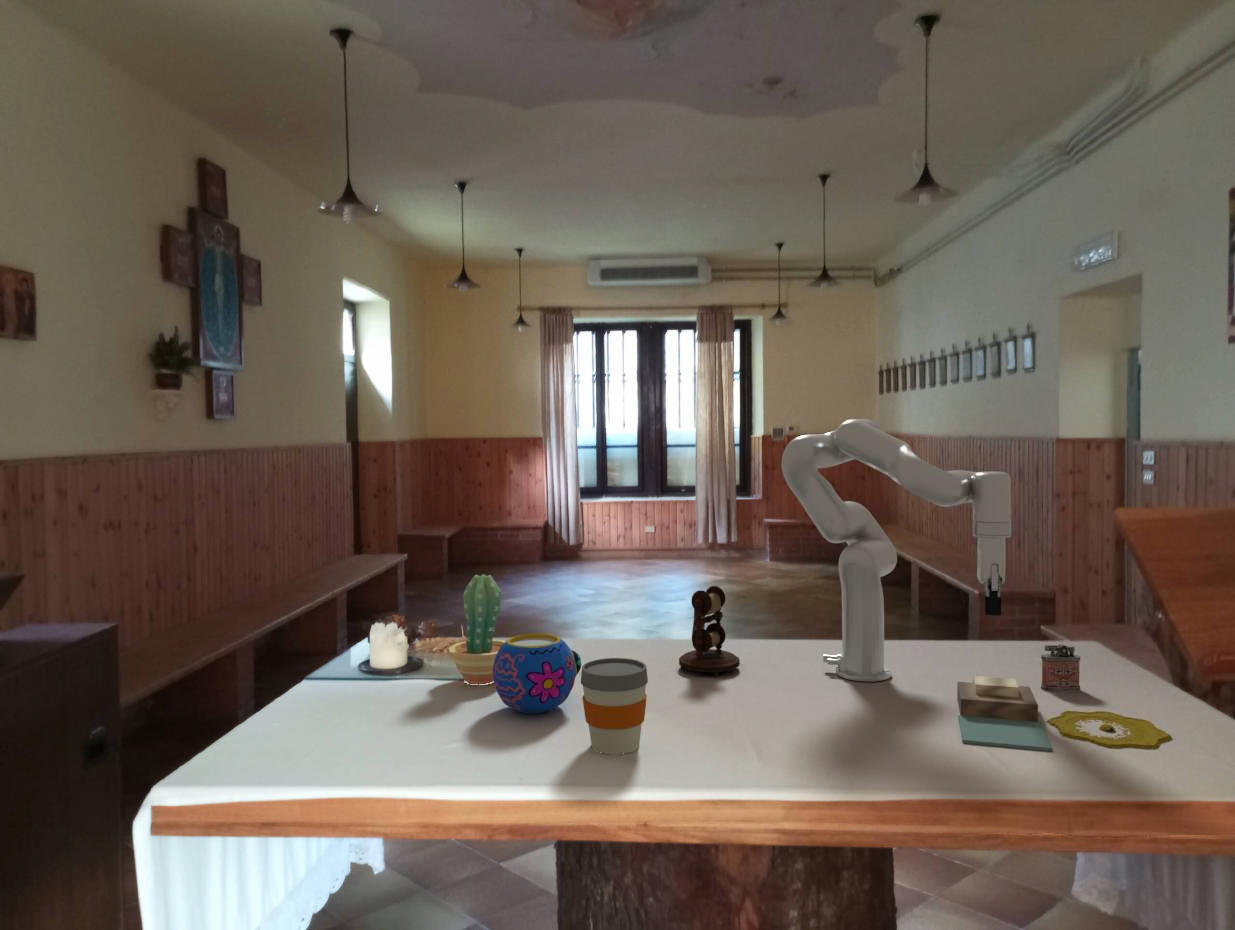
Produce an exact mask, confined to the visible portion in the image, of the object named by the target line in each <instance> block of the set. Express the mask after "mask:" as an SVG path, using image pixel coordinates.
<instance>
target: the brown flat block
mask: <svg viewBox="0 0 1235 930" xmlns="http://www.w3.org/2000/svg"><path fill="white" fill-rule="evenodd" d="M956 685H957V690H956V693H957V694H956V695H957V699H956V701H957V705H958V710H959V715H961V716H973V717H985V718H996V719H1008V720H1020V721H1032V722H1039V704H1038V702H1037V700H1036V698H1035V695H1034V694H1033V691H1032V689H1031V687H1030V686H1023V685H1018V687H1019V697H1008V696H995V695H982V694H975V690H974V686H973V682H968V681H967V682H966V681H957V683H956Z"/></svg>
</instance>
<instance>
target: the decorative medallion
mask: <svg viewBox="0 0 1235 930" xmlns="http://www.w3.org/2000/svg"><path fill="white" fill-rule="evenodd" d="M1092 720H1093V721H1094V722H1095V723H1099V722H1100V721H1101V722H1102V724H1100V726H1099V727H1098V730H1099V731H1101V732H1103V733H1105V734H1104V735H1102V734H1099V735H1097V734H1096V733H1098V731H1095V732H1096V733H1095V734H1096V735H1094V734H1091V733H1090V731H1089V730H1091V728H1089V729H1088V731H1087V730H1084V725H1083V726H1082V725H1081V724H1082V722H1083V723H1084V724H1086V723H1091V721H1092ZM1046 723H1047V724H1049V725H1050V726H1052V727H1054V728H1055V729H1056V730H1057V731H1058V733H1059V735H1061V737H1064V738H1067V739H1072V740H1079V741H1083V742H1088V743H1090V744H1094V745H1096V746H1098V747H1104V748H1107V749H1126V748H1128V749H1129V748H1131V749H1141V750H1156V749H1157V748H1159V747H1160V745H1161V743H1166V742H1170V741H1171V740H1173V737H1172V736H1171V734H1169V733H1168V732H1166V731H1165V730H1163V729H1160V728H1159V727H1156V726H1155V724H1154V723H1153V722H1151V721H1149V720H1147V719H1141V718H1136V717H1135V718H1134V717H1131V716H1125V715H1121V714H1118V713H1115V712H1110V711H1105V710H1104V711H1103V710H1100V711H1099V710H1097V711H1095V710H1094V711H1079V710H1065V711H1062V712H1060V715H1057V716H1054V717H1053V716H1052V717H1050V718H1048V719H1047V720H1046ZM1116 728H1117V729H1118V730H1121V732H1122V733H1120V734H1119V733H1117V734H1116V735H1114V736H1108V729H1110V732H1111V733H1116V732H1117V731H1116ZM1111 730H1112V731H1111ZM1091 731H1092V730H1091ZM1092 732H1093V731H1092ZM1128 732H1129V733H1128ZM1106 733H1107V734H1106Z"/></svg>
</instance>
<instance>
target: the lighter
mask: <svg viewBox="0 0 1235 930" xmlns="http://www.w3.org/2000/svg"><path fill="white" fill-rule="evenodd" d="M1075 648H1076V647H1075V646H1074V645H1065V644H1063V643H1058V645H1057V644H1045V645H1044V651H1046V652H1050V653H1042V654H1040V659H1041V683H1040V689H1041V690H1043V691H1046V692H1047V691H1048V692H1063V693H1064V692H1067V693H1069V692H1080V691H1081V685H1080V661H1081V656H1080V655H1078V654H1074V653H1075Z"/></svg>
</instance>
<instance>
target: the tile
mask: <svg viewBox="0 0 1235 930" xmlns="http://www.w3.org/2000/svg"><path fill="white" fill-rule="evenodd" d="M972 681H973V682H972V683H973V686H974V690H975V694H982V695H995V696H1008V697H1019V687H1018V686H1019V685H1018V683H1017V681H1016V678H1007V677H1006V678H1005V677H993V676H979V675H978V676H977V675H976V676H975V675H973V676H972Z"/></svg>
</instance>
